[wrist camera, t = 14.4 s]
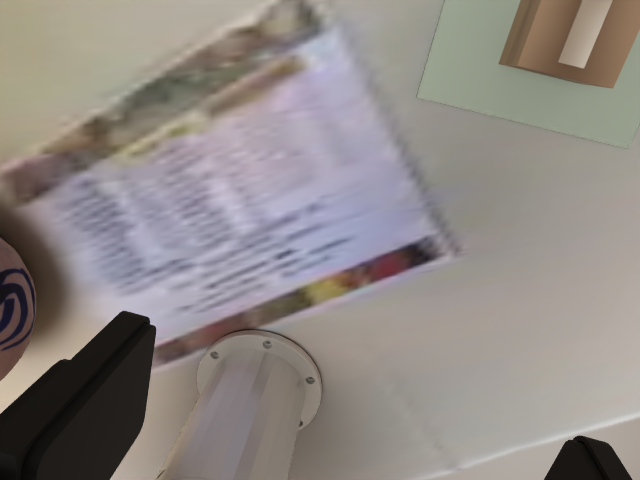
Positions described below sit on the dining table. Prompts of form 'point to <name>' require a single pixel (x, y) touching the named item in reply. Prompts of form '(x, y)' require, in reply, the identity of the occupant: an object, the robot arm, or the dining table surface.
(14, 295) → the ceramic pitcher
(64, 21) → the dining table surface
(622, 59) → the cardboard box
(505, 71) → the mat
